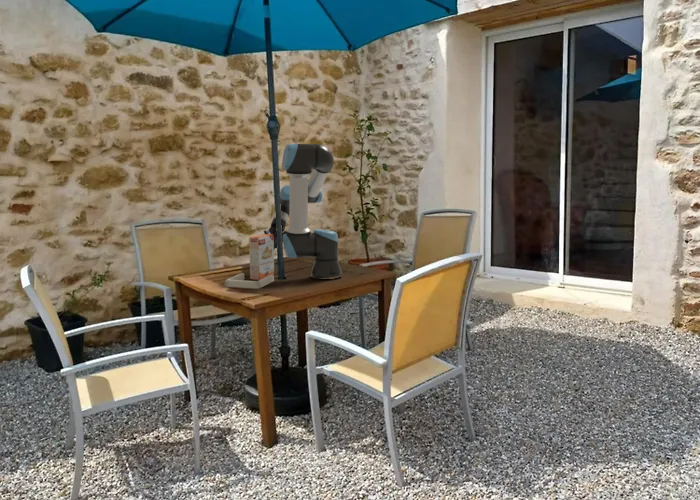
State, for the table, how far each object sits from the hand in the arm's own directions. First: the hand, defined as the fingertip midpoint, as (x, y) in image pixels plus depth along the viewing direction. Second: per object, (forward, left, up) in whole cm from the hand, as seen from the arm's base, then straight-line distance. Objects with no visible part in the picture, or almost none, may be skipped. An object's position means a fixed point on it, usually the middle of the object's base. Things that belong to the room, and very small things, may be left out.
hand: (267, 258), depth 296 cm
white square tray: (-1, +23, -8) cm, 25 cm away
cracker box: (-1, +8, -8) cm, 12 cm away
